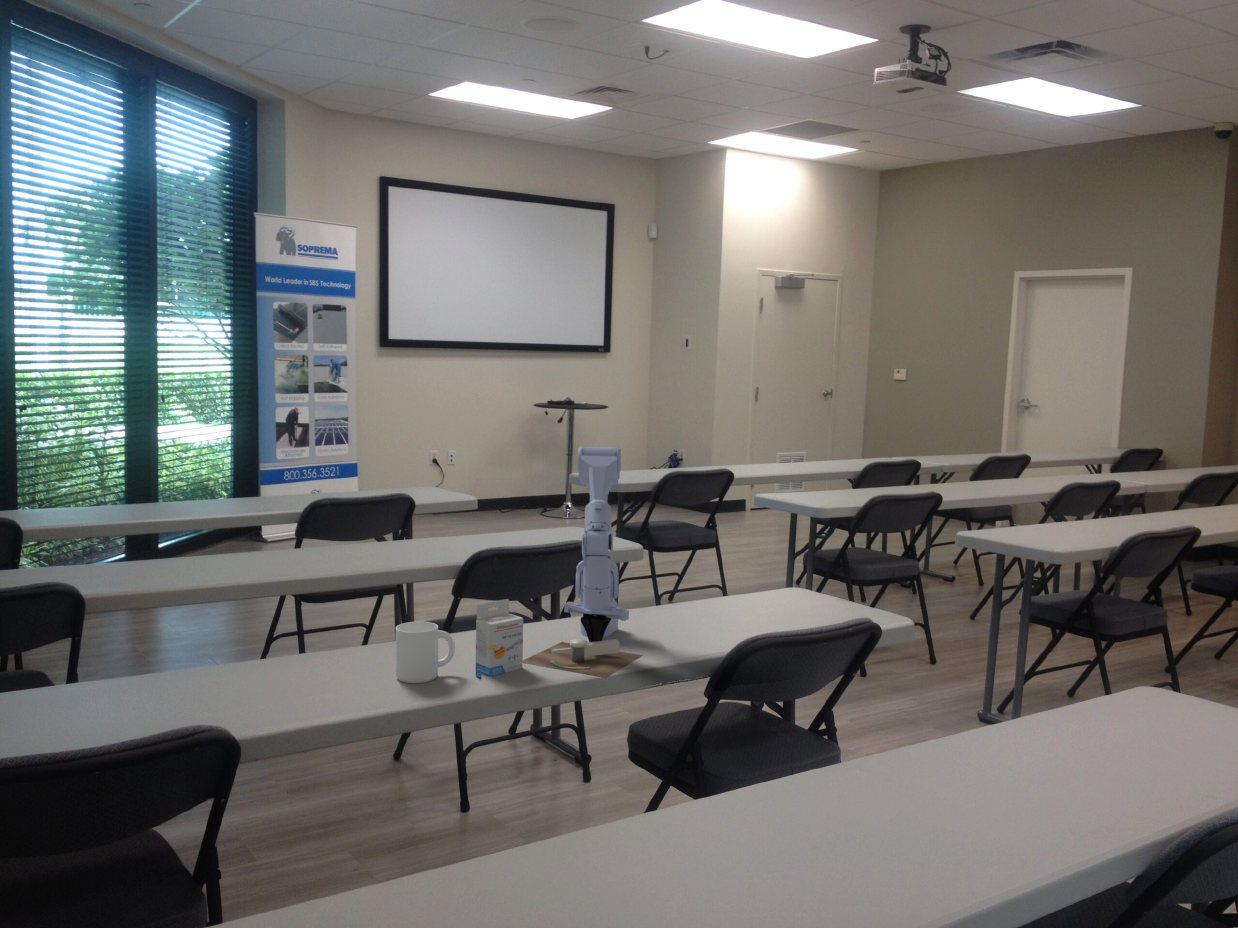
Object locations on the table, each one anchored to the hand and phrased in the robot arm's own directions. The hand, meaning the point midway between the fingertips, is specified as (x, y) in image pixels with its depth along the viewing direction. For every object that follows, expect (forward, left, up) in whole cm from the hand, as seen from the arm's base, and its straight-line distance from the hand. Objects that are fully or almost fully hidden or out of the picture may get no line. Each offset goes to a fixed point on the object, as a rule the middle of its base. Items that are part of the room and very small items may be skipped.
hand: (595, 648), depth 211 cm
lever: (+5, 0, -1) cm, 5 cm away
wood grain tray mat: (+5, -1, -2) cm, 5 cm away
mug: (+28, -24, -2) cm, 36 cm away
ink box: (+20, -11, -2) cm, 23 cm away
